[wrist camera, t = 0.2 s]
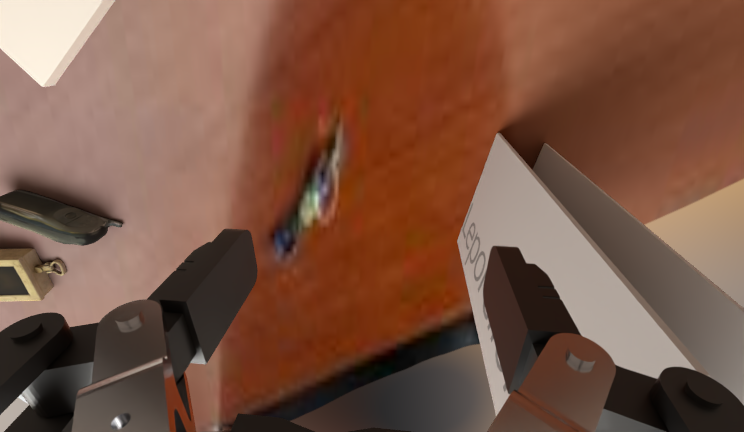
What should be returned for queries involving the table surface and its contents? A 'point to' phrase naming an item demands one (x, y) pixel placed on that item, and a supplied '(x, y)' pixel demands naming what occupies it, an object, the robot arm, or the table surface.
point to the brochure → (598, 272)
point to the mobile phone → (53, 218)
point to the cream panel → (48, 33)
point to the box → (25, 275)
